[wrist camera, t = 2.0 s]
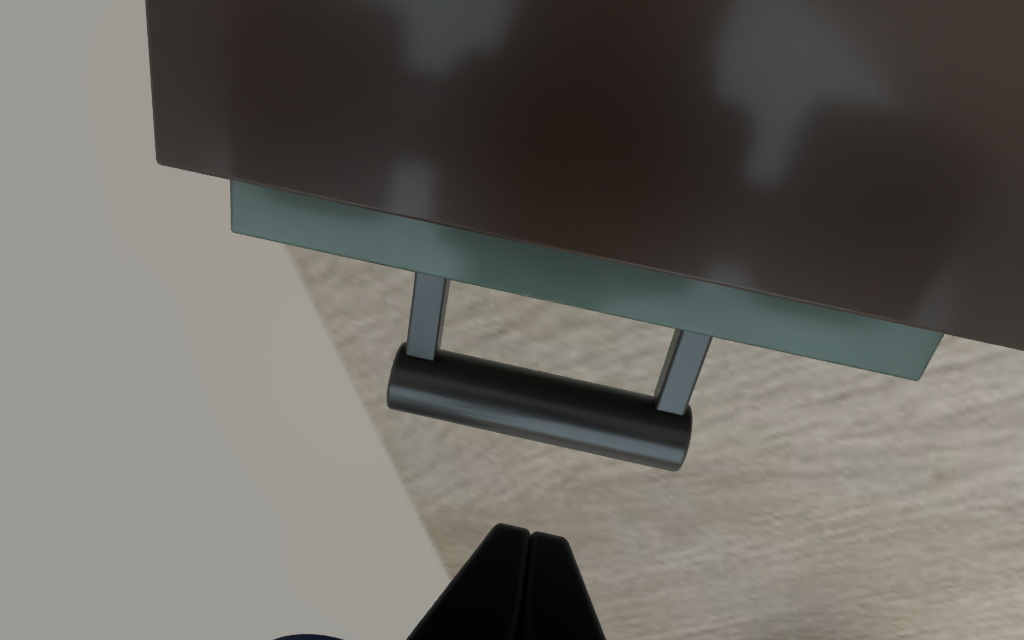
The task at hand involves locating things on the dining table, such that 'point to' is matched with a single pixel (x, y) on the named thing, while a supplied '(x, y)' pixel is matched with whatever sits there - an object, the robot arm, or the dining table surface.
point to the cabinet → (640, 134)
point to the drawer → (575, 282)
